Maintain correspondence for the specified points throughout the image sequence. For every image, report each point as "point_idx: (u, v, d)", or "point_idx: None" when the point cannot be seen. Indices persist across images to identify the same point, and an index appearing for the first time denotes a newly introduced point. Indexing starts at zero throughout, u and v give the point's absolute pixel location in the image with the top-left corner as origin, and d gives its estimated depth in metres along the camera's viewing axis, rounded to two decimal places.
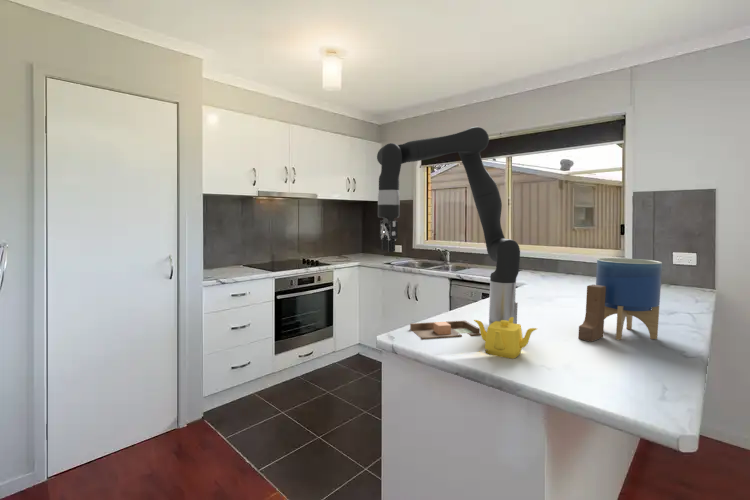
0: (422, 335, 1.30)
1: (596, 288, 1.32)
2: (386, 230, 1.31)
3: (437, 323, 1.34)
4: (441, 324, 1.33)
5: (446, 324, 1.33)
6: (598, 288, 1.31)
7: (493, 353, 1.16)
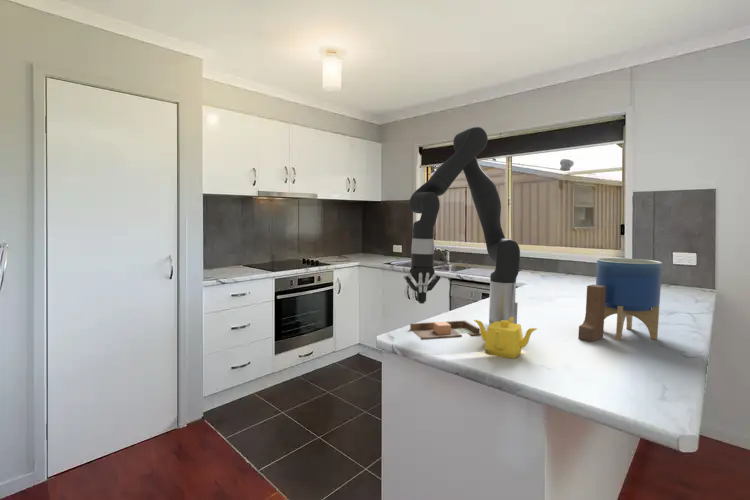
0: (422, 335, 1.30)
1: (596, 288, 1.32)
2: None
3: (437, 323, 1.34)
4: (441, 324, 1.33)
5: (446, 324, 1.33)
6: (598, 288, 1.31)
7: (493, 353, 1.16)
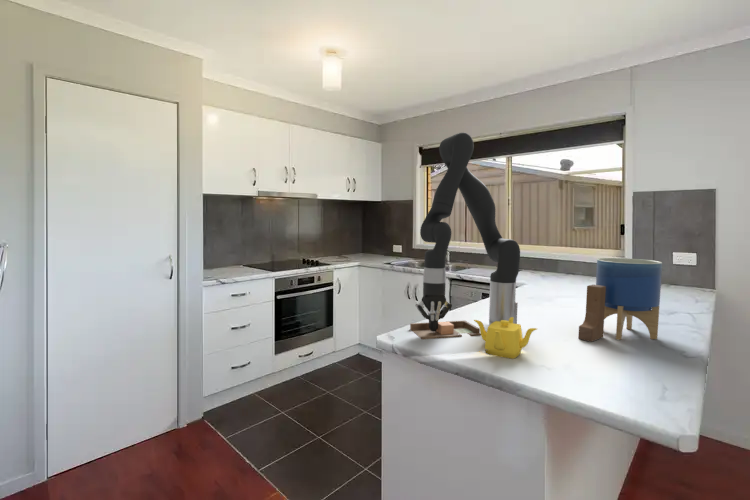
0: (422, 335, 1.30)
1: (596, 288, 1.32)
2: None
3: (440, 323, 1.34)
4: (444, 324, 1.33)
5: (449, 324, 1.33)
6: (598, 288, 1.31)
7: (493, 353, 1.16)
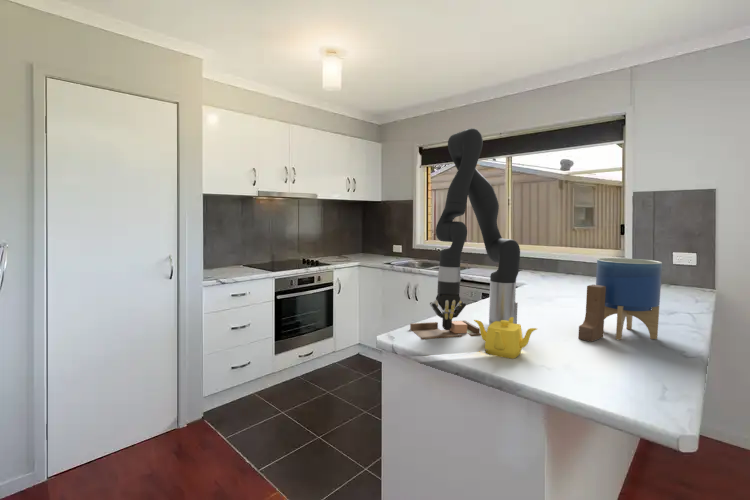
0: (422, 335, 1.30)
1: (596, 288, 1.32)
2: None
3: (453, 322, 1.35)
4: (457, 323, 1.34)
5: (462, 323, 1.34)
6: (598, 288, 1.31)
7: (493, 353, 1.16)
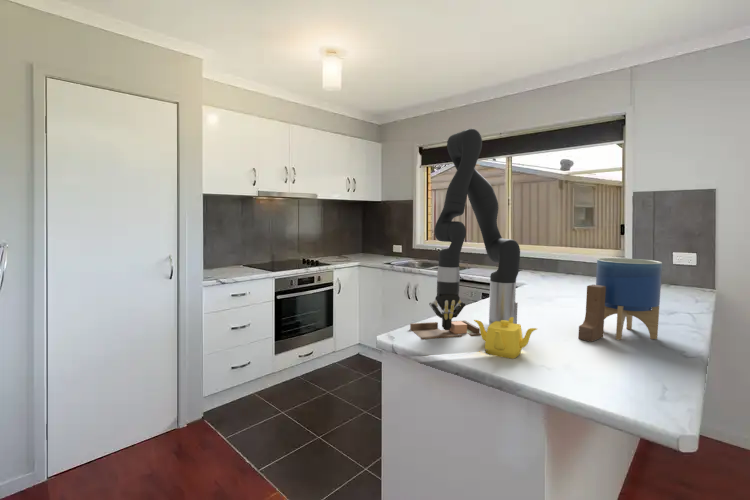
0: (422, 335, 1.30)
1: (596, 288, 1.32)
2: (453, 309, 1.33)
3: (453, 322, 1.35)
4: (457, 323, 1.34)
5: (462, 323, 1.34)
6: (598, 288, 1.31)
7: (493, 353, 1.16)
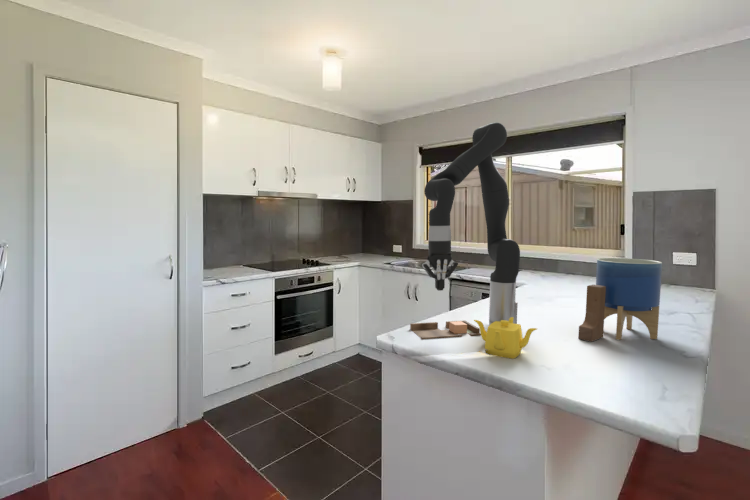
0: (422, 335, 1.30)
1: (596, 288, 1.32)
2: None
3: (453, 322, 1.35)
4: (457, 323, 1.34)
5: (462, 323, 1.34)
6: (598, 288, 1.31)
7: (493, 353, 1.16)
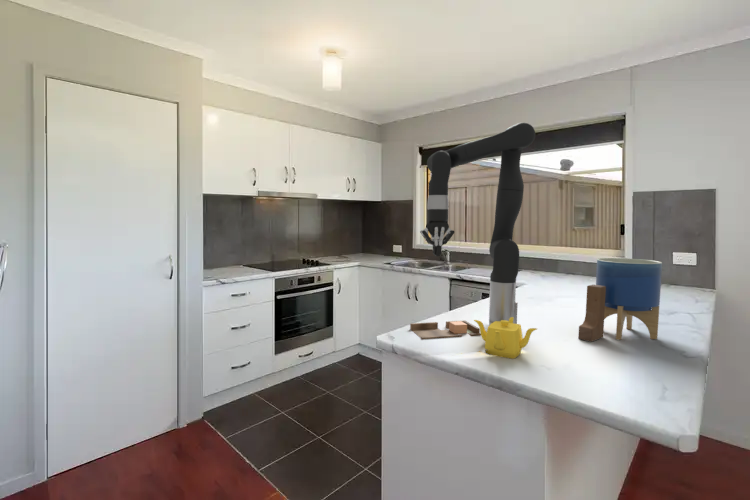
0: (422, 335, 1.30)
1: (596, 288, 1.32)
2: None
3: (453, 322, 1.35)
4: (457, 323, 1.34)
5: (462, 323, 1.34)
6: (598, 288, 1.31)
7: (493, 353, 1.16)
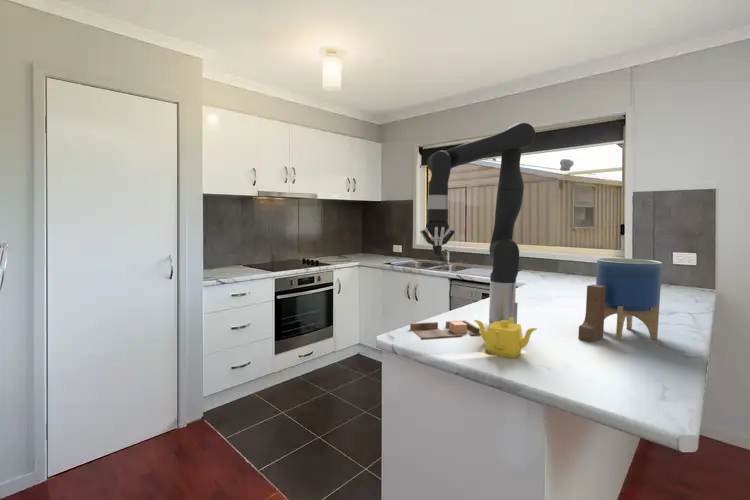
0: (422, 335, 1.30)
1: (596, 288, 1.32)
2: None
3: (453, 322, 1.35)
4: (457, 323, 1.34)
5: (462, 323, 1.34)
6: (598, 288, 1.31)
7: (493, 353, 1.16)
